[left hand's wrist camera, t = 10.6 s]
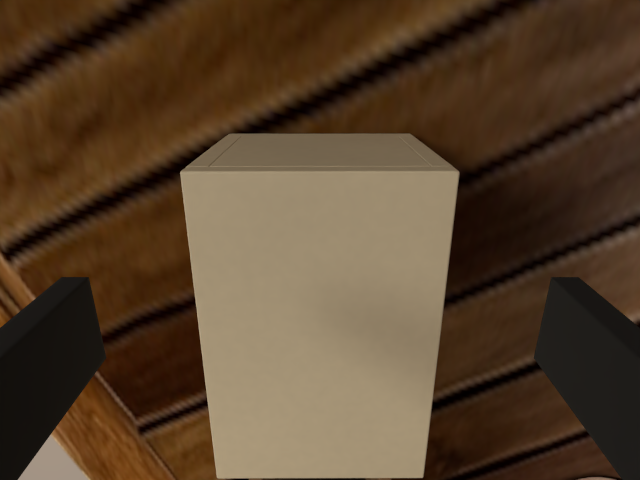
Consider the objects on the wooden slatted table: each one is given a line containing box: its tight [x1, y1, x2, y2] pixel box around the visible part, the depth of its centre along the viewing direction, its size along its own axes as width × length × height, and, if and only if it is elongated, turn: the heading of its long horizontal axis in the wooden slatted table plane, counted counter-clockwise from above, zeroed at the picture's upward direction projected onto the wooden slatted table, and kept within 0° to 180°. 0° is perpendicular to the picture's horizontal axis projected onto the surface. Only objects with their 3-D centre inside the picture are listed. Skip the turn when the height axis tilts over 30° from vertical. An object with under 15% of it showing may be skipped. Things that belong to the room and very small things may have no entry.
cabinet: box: [180, 134, 459, 478], centre depth 25 cm, size 17×11×10 cm, turn 0°
